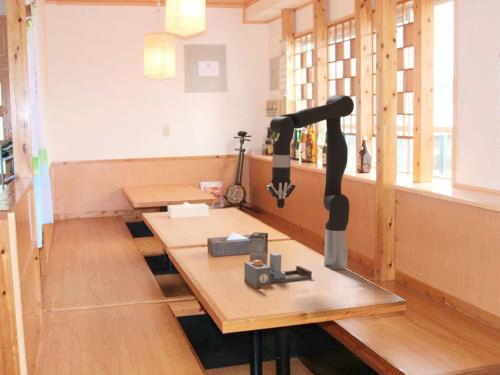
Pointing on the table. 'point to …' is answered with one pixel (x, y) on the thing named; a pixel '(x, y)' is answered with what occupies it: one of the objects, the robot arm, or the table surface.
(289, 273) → the guide rails
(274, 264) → the carriage
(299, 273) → the rail bed
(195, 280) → the table surface
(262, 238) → the coffee box
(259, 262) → the button
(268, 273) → the cabinet
